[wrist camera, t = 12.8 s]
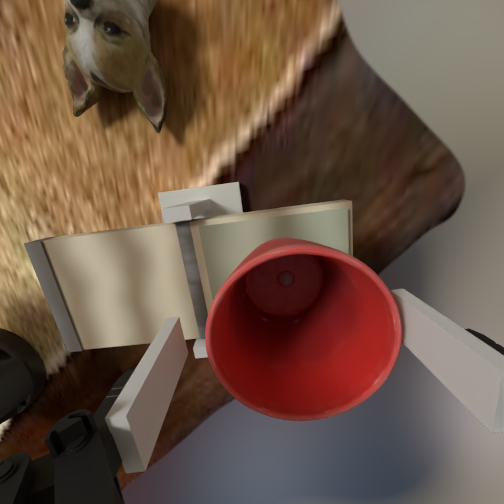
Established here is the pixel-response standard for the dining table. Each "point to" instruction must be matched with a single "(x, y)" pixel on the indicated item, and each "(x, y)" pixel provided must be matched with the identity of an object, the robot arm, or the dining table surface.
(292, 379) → the flower pot
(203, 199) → the stand
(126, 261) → the beam
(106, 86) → the ceramic sculpture
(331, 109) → the dining table surface
